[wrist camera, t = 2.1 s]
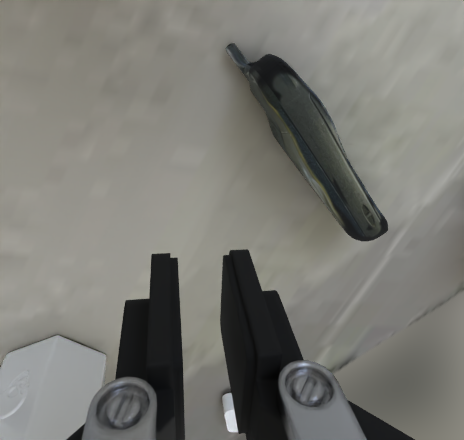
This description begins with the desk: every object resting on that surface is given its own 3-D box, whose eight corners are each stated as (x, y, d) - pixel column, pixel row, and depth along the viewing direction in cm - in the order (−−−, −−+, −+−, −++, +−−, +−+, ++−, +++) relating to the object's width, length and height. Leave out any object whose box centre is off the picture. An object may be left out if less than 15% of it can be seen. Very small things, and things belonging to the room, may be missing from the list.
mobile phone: (401, 230, 25) (280, 28, 18) (362, 256, 26) (228, 71, 18) (366, 194, 29) (256, 19, 22) (333, 218, 30) (214, 55, 22)
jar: (81, 322, 31) (41, 483, 21) (127, 380, 35) (112, 537, 25) (-20, 359, 31) (-108, 535, 21) (38, 412, 36) (-12, 579, 25)
